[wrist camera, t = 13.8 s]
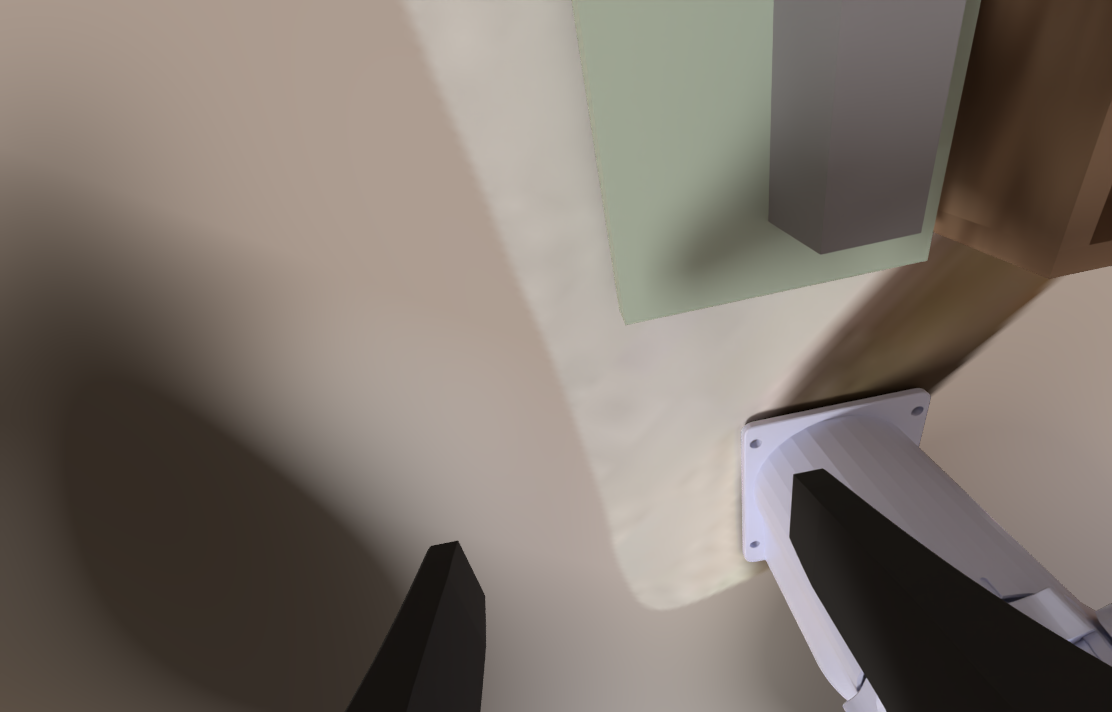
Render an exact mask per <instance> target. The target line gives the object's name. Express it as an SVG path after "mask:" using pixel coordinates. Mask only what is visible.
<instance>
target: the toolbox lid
mask: <svg viewBox="0 0 1112 712" xmlns="http://www.w3.org/2000/svg"><path fill="white" fill-rule="evenodd" d="M980 3H981V0H572V6H573V13H574V19H575V26H576V32H577V39H578V45H579V52H580V58H581V65H582V71H583V77H584V84H585V90H586V97H587V103H588V110H589V116H590V123H591V129H592V136H593V142H594V149H595V155H596V162H597V168H598V175H599V181H600V188H601V194H602V201H603V207H604V214H605V220H606V227H607V233H608V240H609V246H610V253H611V259H612V266H613V272H614V279H615V285H616V291H617V298H618V304H619V310H620V313H621V315H622V317H623V320H624V322H625V325H629V324H633V323H638V322H643V321H647V320H652V319H657V318H661V317H666V316H671V315H675V314H680V313H685V312H689V311H694V310H699V309H703V308H708V307H713V306H717V305H722V304H727V303H731V302H736V301H741V300H745V299H750V298H755V297H759V296H764V295H769V294H773V293H778V292H783V291H787V290H792V289H797V288H801V287H806V286H811V285H815V284H820V283H824V282H829V281H834V280H838V279H843V278H848V277H852V276H857V275H862V274H866V273H871V272H876V271H880V270H885V269H890V268H894V267H899V266H904V265H908V264H913V263H918V262H922V261H927V259H928V254H929V249H930V244H931V240H932V235H933V230H934V225H935V220H936V216H937V211H938V206H939V201H940V196H941V191H942V187H943V182H944V177H945V172H946V167H947V163H948V158H949V153H950V148H951V143H952V138H953V134H954V129H955V124H956V119H957V114H958V109H959V105H960V100H961V95H962V90H963V85H964V81H965V76H966V71H967V66H968V61H969V56H970V52H971V47H972V42H973V37H974V32H975V28H976V23H977V18H978V13H979V8H980Z"/></svg>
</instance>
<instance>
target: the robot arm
mask: <svg viewBox="0 0 1112 712" xmlns="http://www.w3.org/2000/svg"><path fill="white" fill-rule="evenodd" d="M930 399H931V396H930V394H929V393H928V392H927V391H925V390H924V389H922V388H914V389H909V390H904V391H900V392H895V393H890V394H885V395H880V396H875V397H870V398H865V399H860V400H856V401H851V402H846V403H841V404H836V405H831V406H826V407H821V408H817V409H812V410H807V411H802V412H797V413H792V414H787V415H782V416H777V417H773V418H768V419H763V420H758V421H753V422H750V423H748V424H746V425H745V426H744V427H743V428H742V431H741V455H742V536H743V555H744V557H745V559H746V560H747V561H750V562H756V561H761V560H766V561H767V563H768V565H769V567H770V569H771V571H772V573H773V575H774V577H775V579H776V581H777V583H778V585H779V587H780V589H781V591H782V593H783V595H784V597H785V599H786V601H787V603H788V605H789V607H790V609H791V611H792V613H793V615H794V617H795V619H796V621H797V623H798V625H799V627H800V629H801V631H802V633H803V635H804V637H805V639H806V641H807V643H808V645H809V647H810V649H811V651H812V653H813V655H814V657H815V659H816V661H817V663H818V665H819V667H820V669H821V670H822V672H823V673H824V675H825V676H826V678H827V679H828V680H829V682H830V683H831V684H832V686H833V687H834V688H835V689H836V690H837V691H838V692H839V693H840V694H841V695H842V696H843V697H844V698H845V699H846V700H847V702H845V703H844V704H843V708H844V710H845V712H1112V604H1109V605H1107V606H1105V607H1103V608H1101V609H1100V610H1098V611H1095V610H1093V609H1091V608H1090V607H1088V606H1086V605H1084V604H1083V603H1081V602H1080V601H1079V600H1078V599H1077V598H1076V597H1075V596H1074V595H1073V594H1072V593H1071V592H1069V591H1068V590H1067V589H1066V588H1065V587H1064V586H1063V585H1062V584H1061V583H1060V582H1059V581H1058V580H1057V579H1056V578H1055V577H1054V576H1053V575H1052V574H1051V573H1049V571H1048V570H1046V569H1045V568H1044V567H1043V566H1042V565H1041V564H1040V563H1039V562H1038V561H1037V560H1036V559H1035V558H1034V557H1033V556H1032V555H1031V554H1030V553H1029V552H1028V551H1027V550H1026V549H1025V548H1024V547H1023V546H1021V545H1020V544H1019V543H1018V542H1017V541H1016V540H1015V539H1014V538H1013V537H1012V536H1011V535H1010V534H1009V533H1008V532H1007V531H1006V530H1005V529H1004V528H1003V527H1002V526H1001V525H999V524H998V523H997V522H996V521H995V520H994V519H993V518H992V517H991V516H990V515H989V514H988V513H987V512H986V511H985V510H984V509H983V508H982V507H981V506H980V505H979V504H978V503H977V502H976V501H974V500H973V499H972V498H971V497H970V496H969V495H968V494H967V493H966V492H965V491H964V490H963V489H962V488H961V487H960V486H959V485H958V484H957V483H956V482H954V481H953V479H951V478H950V477H949V476H948V475H947V474H946V473H945V472H944V471H943V470H942V469H941V468H940V467H939V466H938V465H937V464H936V463H935V462H934V461H933V460H932V459H931V458H930V457H928V456H927V455H926V454H925V453H924V452H923V451H922V450H921V449H920V448H919V444H920V440H921V436H922V432H923V428H924V424H925V420H926V416H927V411H928V407H929V404H930ZM756 439H757V440H756ZM753 440H756V441H754V442H752V441H753ZM485 650H486V614H485V595H484V593H483V591H482V589H481V586H480V584H479V582H478V580H477V578H476V576H475V574H474V572H473V570H472V568H471V566H470V564H469V562H468V560H467V558H466V556H465V554H464V552H463V550H462V548H461V546H460V544H459V542H458V541H454V542H449V543H444V544H439V545H434V546H431V547H430V548H429V549H428V551H427V553H426V556H425V557H424V559H423V562H422V564H421V566H420V568H419V570H418V573H417V575H416V577H415V579H414V581H413V583H412V585H411V587H410V590H409V592H408V594H407V596H406V598H405V600H404V602H403V604H402V606H401V608H400V610H399V612H398V614H397V616H396V618H395V620H394V622H393V624H392V626H391V628H390V630H389V632H388V634H387V635H386V638H385V639H384V641H383V643H382V645H381V647H380V649H379V651H378V653H377V655H376V657H375V659H374V661H373V663H372V664H371V666H370V668H369V670H368V671H367V673H366V675H365V677H364V679H363V680H362V682H361V684H360V686H359V687H358V689H357V691H356V693H355V694H354V696H353V698H352V700H351V701H350V703H349V705H348V707H347V709H346V710H345V712H480V709H481V698H482V687H483V675H484V663H485Z"/></svg>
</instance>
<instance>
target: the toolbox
mask: <svg viewBox="0 0 1112 712" xmlns="http://www.w3.org/2000/svg"><path fill="white" fill-rule="evenodd" d="M933 232H935V233H937V234H940V235H942V236H944V237H947V238H949V239H952V240H954V241H957V242H959V243H962V244H964V245H967V246H969V247H972V248H974V249H977V250H979V251H981V252H984V253H986V254H989V255H991V256H994V257H996V258H999V259H1001V260H1004V261H1006V262H1009V263H1011V264H1013V265H1016V266H1018V267H1021V268H1023V269H1026V270H1028V271H1031V272H1033V273H1036V274H1038V275H1041V276H1043V277H1045V278H1048V279H1051V278H1056V277H1060V276H1065V275H1070V274H1074V273H1079V272H1084V271H1088V270H1093V269H1098V268H1102V267H1107V266H1112V0H981V3H980V8H979V13H978V18H977V23H976V28H975V32H974V37H973V42H972V47H971V52H970V56H969V61H968V66H967V71H966V76H965V81H964V85H963V90H962V95H961V100H960V105H959V109H958V114H957V119H956V124H955V129H954V134H953V138H952V143H951V148H950V153H949V158H948V163H947V167H946V172H945V177H944V182H943V187H942V191H941V196H940V201H939V206H938V211H937V216H936V220H935V225H934V230H933Z"/></svg>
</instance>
